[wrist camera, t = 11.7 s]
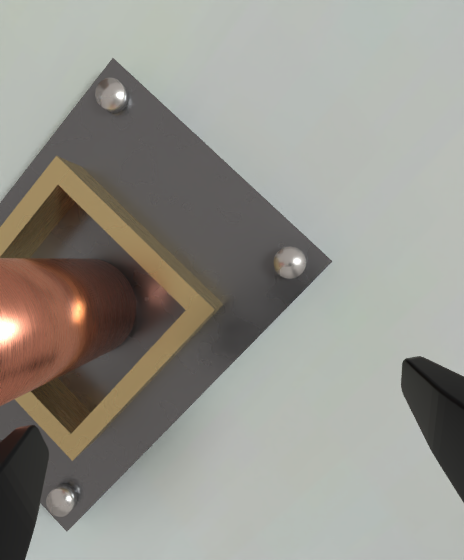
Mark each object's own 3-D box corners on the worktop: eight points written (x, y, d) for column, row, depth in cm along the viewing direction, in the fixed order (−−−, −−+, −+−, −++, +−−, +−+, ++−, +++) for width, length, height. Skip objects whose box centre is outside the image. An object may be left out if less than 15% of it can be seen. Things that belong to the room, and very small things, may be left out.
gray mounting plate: (330, 261, 20) (337, 261, 17) (78, 518, 24) (41, 561, 20) (122, 68, 22) (90, 32, 18) (-89, 337, 25) (-150, 350, 22)
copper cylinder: (155, 306, 21) (30, 348, 11) (93, 374, 22) (-74, 471, 12) (62, 213, 21) (-136, 174, 12) (5, 283, 22) (-225, 302, 12)
